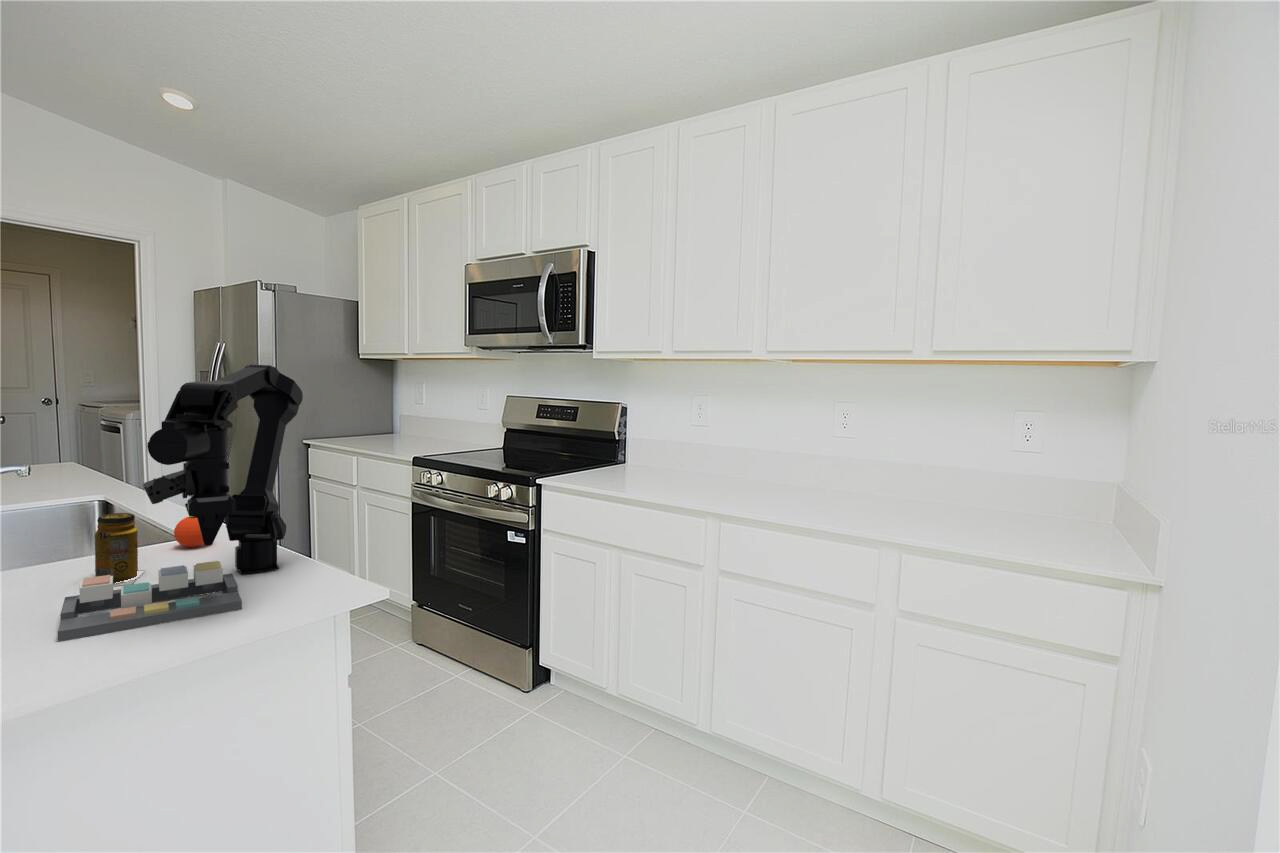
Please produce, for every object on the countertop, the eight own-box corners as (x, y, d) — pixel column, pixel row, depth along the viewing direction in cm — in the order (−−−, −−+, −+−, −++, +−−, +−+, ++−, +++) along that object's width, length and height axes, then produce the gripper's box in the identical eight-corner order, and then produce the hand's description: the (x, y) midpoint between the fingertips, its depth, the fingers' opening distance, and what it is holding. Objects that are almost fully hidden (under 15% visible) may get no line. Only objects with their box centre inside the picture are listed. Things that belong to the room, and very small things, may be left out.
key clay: (113, 597, 98) (112, 573, 98) (112, 606, 95) (112, 581, 94) (81, 602, 96) (81, 578, 95) (79, 611, 92) (79, 586, 92)
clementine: (173, 543, 135) (173, 512, 134) (211, 539, 139) (211, 509, 138) (174, 552, 128) (173, 520, 128) (213, 548, 133) (213, 517, 132)
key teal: (151, 604, 101) (150, 581, 101) (151, 612, 98) (151, 588, 98) (121, 608, 99) (121, 585, 99) (121, 617, 96) (120, 593, 95)
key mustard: (220, 581, 107) (219, 560, 107) (222, 589, 104) (222, 566, 104) (193, 585, 105) (193, 563, 105) (195, 593, 102) (195, 570, 101)
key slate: (186, 586, 104) (186, 564, 104) (188, 594, 101) (188, 571, 101) (158, 590, 102) (158, 568, 102) (159, 599, 99) (159, 575, 98)
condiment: (145, 570, 117) (145, 510, 116) (131, 585, 109) (130, 520, 109) (97, 574, 114) (96, 512, 113) (79, 589, 106) (78, 523, 105)
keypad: (232, 586, 111) (232, 573, 111) (241, 609, 101) (241, 594, 101) (65, 612, 97) (65, 597, 96) (57, 641, 87) (57, 624, 87)
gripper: (145, 451, 105) (147, 538, 106) (147, 466, 90) (149, 567, 92) (222, 448, 112) (223, 530, 113) (235, 462, 98) (236, 556, 99)
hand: (208, 544), depth 104 cm, fingers closed
